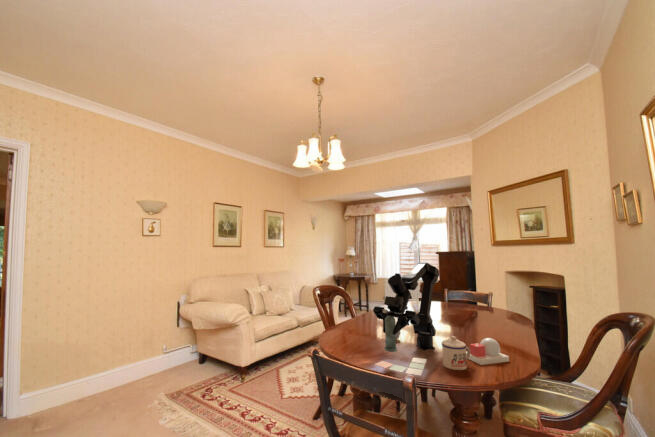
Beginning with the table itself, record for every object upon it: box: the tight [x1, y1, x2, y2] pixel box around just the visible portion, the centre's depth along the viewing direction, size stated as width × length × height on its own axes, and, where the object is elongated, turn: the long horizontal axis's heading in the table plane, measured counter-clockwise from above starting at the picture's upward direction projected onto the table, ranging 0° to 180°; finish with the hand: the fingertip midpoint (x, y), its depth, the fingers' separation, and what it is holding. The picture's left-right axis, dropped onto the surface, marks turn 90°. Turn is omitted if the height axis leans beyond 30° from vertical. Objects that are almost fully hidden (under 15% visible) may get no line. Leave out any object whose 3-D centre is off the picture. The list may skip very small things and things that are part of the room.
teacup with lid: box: [441, 335, 470, 371], centre depth 119 cm, size 12×9×12 cm
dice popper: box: [466, 337, 510, 366], centre depth 127 cm, size 14×10×8 cm
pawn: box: [384, 316, 398, 353], centre depth 119 cm, size 5×5×13 cm
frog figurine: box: [396, 330, 401, 341], centre depth 155 cm, size 6×7×7 cm
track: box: [374, 357, 428, 377], centre depth 117 cm, size 23×17×1 cm
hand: (388, 333), depth 118 cm, fingers closed on pawn, 4 cm apart
